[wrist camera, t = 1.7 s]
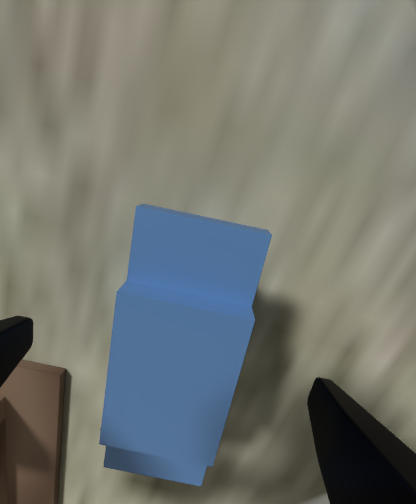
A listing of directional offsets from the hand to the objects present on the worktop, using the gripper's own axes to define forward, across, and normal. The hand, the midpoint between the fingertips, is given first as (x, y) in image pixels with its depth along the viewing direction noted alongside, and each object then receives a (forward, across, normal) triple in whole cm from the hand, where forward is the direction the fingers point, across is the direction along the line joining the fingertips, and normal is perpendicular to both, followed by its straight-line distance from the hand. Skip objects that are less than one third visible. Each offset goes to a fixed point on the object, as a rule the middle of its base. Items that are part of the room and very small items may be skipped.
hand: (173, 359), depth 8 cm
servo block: (+5, 0, 0) cm, 5 cm away
